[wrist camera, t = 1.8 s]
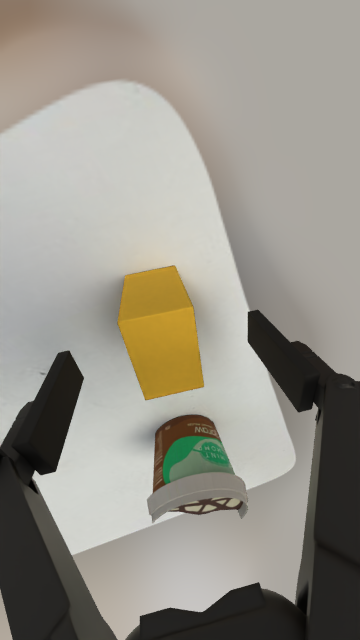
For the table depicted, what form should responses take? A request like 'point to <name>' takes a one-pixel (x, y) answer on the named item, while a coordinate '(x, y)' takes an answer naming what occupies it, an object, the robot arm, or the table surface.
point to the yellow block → (160, 332)
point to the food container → (193, 470)
